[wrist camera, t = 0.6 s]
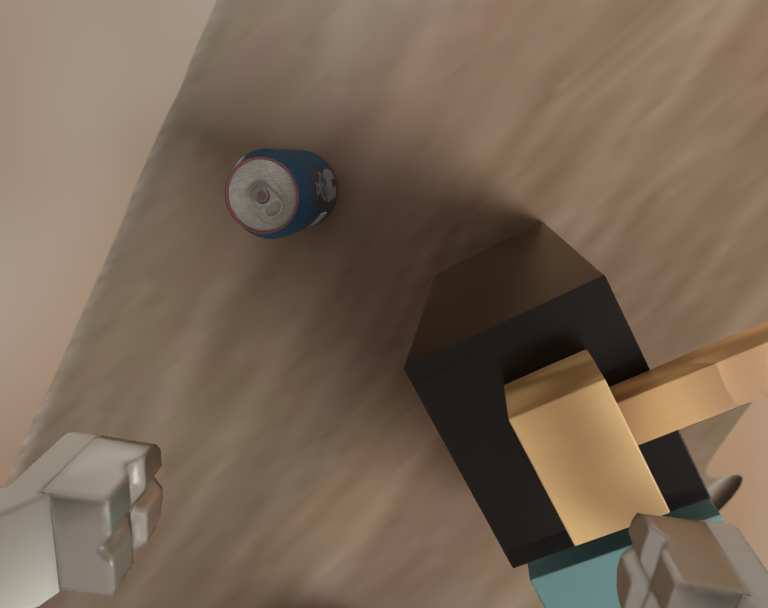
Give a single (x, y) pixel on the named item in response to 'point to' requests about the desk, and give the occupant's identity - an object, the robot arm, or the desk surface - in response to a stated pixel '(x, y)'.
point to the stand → (595, 566)
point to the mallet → (623, 425)
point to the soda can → (280, 191)
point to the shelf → (517, 359)
